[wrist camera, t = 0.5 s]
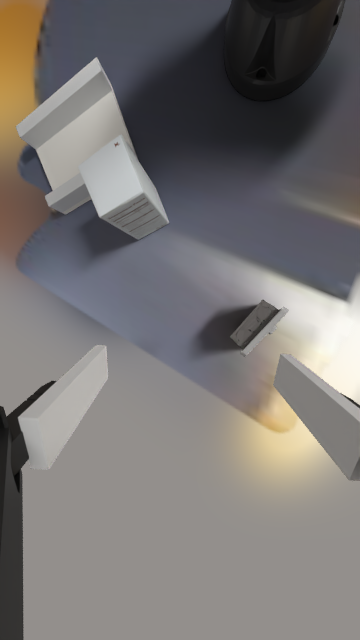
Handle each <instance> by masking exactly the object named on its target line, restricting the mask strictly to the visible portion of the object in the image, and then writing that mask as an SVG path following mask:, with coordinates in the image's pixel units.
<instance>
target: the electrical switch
mask: <svg viewBox="0 0 360 640" xmlns="http://www.w3.org/2000/svg"><path fill="white" fill-rule="evenodd" d="M257 309H258V310H257ZM288 311H289V310H287V309H286V308H285V307H283V308H282V309H279V310H278V309H276V308H275V307H274V306H272V305H271V304H269V303H267V302H265V301H264V300H262V301H261V302H260V303H259V304H258V305H257V307H256V308H255V309H254V310H253V311H252V312H251V313H250V315H249V316H248V317H247V318H246V319H245V320H244V321H243V322H242V324H241V325H240V326H239V327H238V328H237V329H236V330H235V332H234V333H233V334H232V335H231V336H230V338H231V339H232V340H234V341H235V342H236V344H237V345H239V346H240V347H241V348H242V349H243V350H242V352H241V353H240V354H241V355H243V356H244V357H245V356H246V355H247V354H249V353H250V352H251V350H252V349H253V348H254V347H255V346H256V345H257V344H258V343H259V342H260V341H261V340H262V339H263V338H264V337H265V336H266V335H267V334H268V333H269V334H272V333H273V332H274V331H275V330H276V328H277V326H275V325H276V324H277V323H278V322H279V321H280V320H281V319H282V318H283V317H284V316H285V315H286V313H287V312H288ZM236 333H237V334H236Z"/></svg>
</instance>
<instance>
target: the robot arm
mask: <svg viewBox="0 0 360 640" xmlns="http://www.w3.org/2000/svg"><path fill="white" fill-rule="evenodd" d="M344 3H345V0H232V2H231V5H230V9H229V12H228V16H227V21H226V27H225V41H224V61H225V68H226V72H227V75H228V77H229V80H230V82H231V83H232V85H233V86H234V87H235V89H236V90H237V91H238V92H239V93H241V94H242V95H244V96H245V97H248V98H250V99H253V100H260V101H265V100H273V99H276V98H280V97H282V96H284V95H286V94H288V93H290V92H292V91H293V90H295V89H296V88H298V87H299V86H300V85H301V84H303V83H304V82H305V81H306V80H307V79H308V78H309V77H310V76H311V75H312V73H313V72H314V71H315V70H316V68H317V67H318V66H319V64H320V62H321V61H322V59H323V57H324V56H325V54H326V52H327V49H328V47H329V45H330V43H331V41H332V39H333V36H334V34H335V32H336V30H337V27H338V24H339V21H340V19H341V15H342V12H343V8H344ZM106 351H107V350H106V346H103V345H96V346H94V347H93V348H92V349H91V350H90V351H89V352H88V353H87V354H86V355H85V356H84V357H83V358H81V359H80V360H79V361H78V362H77V363H76V364H75V365H74V366H73V367H72V368H71V369H70V370H68V371H67V372H66V373H65V374H64V375H63V376H62V377H61V378H60V379H59V380H58V381H51V382H49V383H47V384H45V385H44V386H42V387H41V388H39V389H38V390H37V391H36V392H35V393H34V394H33V395H31V396H30V397H29V398H28V399H27V401H24V402H23V403H22V404H21V405H20V406H19V407H17V408H16V409H15V410H14V411H13V412H12V413H10V414H9V415H8V416H7V417H6V414H5V411H4V408H3V407H1V406H0V640H23V528H22V527H23V523H22V521H23V519H22V518H23V517H22V516H23V514H22V471H21V468H22V466H23V465H24V464H25V462H26V461H27V460H28V459H29V462H30V467H31V469H48V470H49V469H50V467H51V466H52V464H53V463H54V461H55V460H56V458H57V457H58V455H59V453H60V452H61V450H62V449H63V447H64V446H65V444H66V443H67V441H68V440H69V438H70V436H71V435H72V433H73V432H74V430H75V429H76V427H77V426H78V424H79V422H80V421H81V419H82V418H83V416H84V415H85V413H86V412H87V410H88V408H89V407H90V405H91V404H92V402H93V401H94V399H95V398H96V396H97V394H98V393H99V392H100V390H101V388H102V387H103V385H104V384H105V382H106V381H107V379H108V365H107V352H106ZM273 385H274V387H275V388H276V389H277V390H278V392H279V393H280V394H281V395H282V397H283V398H284V399H285V400H286V402H287V403H288V404H289V405H290V407H291V408H292V409H293V411H294V412H295V413H296V414H297V416H298V417H299V418H300V419H301V421H302V422H303V423H304V424H305V426H306V427H307V428H308V429H309V431H310V432H311V433H312V434H313V436H314V437H315V438H316V439H317V441H318V442H319V443H320V445H321V446H322V447H323V448H324V450H325V451H326V452H327V453H328V455H329V456H330V457H331V458H332V460H333V461H334V462H335V463H336V465H337V466H338V467H339V468H340V470H341V471H342V472H343V473H344V475H345V476H346V477H347V479H348V480H354V481H355V480H356V481H360V405H358V404H357V403H356V402H354V401H353V400H352V399H350V398H348V397H346V396H345V395H343V394H341V393H339V392H338V391H337V390H335V389H334V388H333V387H331V386H330V385H329V384H327V383H326V382H325V381H324V380H323V379H321V378H320V377H319V376H317V375H316V374H315V373H314V372H312V371H311V370H310V369H309V368H307V367H306V366H305V365H303V364H302V363H301V362H300V361H298V360H297V359H296V358H295V357H293V356H292V355H291V354H280V359H279V363H278V367H277V371H276V376H275V380H274V384H273Z"/></svg>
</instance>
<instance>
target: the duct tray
mask: <svg viewBox="0 0 360 640" xmlns="http://www.w3.org/2000/svg"><path fill="white" fill-rule="evenodd" d="M16 129H17V131H18V134H19V136H20V138H21V139H23V140H24V141H25V142H27V143H28V144H29V145H30V146H32V147H33V148H34V149H36V151H37V153H38V156H39V158H40V161H41V163H42V166H43V168H44V170H45V173H46V175H47V178H48V180H49V183H50V185H51V187H52V190H53V191H52V192H50V193H49V194H47V195H46V196H45V198H46V201H47V203H48V206H49V207H51V208H53V209H55V210H57V211H59V212H61V213H63V214H65V215H66V214H68V213H69V212H71V211H73V210H74V209H76V208H78V207H79V206H81V205H83V204H84V203H86V202H87V201H89V200H91V197H90V194H89V192H88V190H87V187H86V185H85V183H84V180H83V178H82V175H81V173H80V171H79V168H78V166H79V165H80V164H81V163H82V162H84V161H85V160H87V159H88V158H89V157H91V156H92V155H93V154H95V153H96V152H97V151H99V150H100V149H101V148H103V147H104V146H105V145H107V144H108V143H109V142H111V141H112V140H113V139H115V138H116V137H118V136H119V135H122V136H123V138H124V139H125V141H126V142H127V144H128V145H129V147H130V149H131V150H132V152H133V153H134V155H135V156H136V158H137V155H136V152H135V150H134V147H133V144H132V141H131V138H130V136H129V133H128V130H127V127H126V124H125V122H124V119H123V116H122V113H121V111H120V108H119V105H118V102H117V99H116V97H115V94H114V91H113V88H112V85H111V83H110V81H109V79H108V78H107V76H106V74H105V72H104V70H103V68H102V66H101V64H100V62H99V60H98V59H97V57H96V58H95V59H94V60H93V61H91V62H90V63H89V64H88V65H87V66H86V67H84V68H83V69H82V70H81V71H80V72H79V73H77V74H76V75H75V76H74V77H73V78H72V79H70V80H69V81H68V82H67V83H66V84H65V85H63V86H62V87H61V88H60V89H59V90H58V91H57V92H55V93H54V94H53V95H52V96H51V97H50V98H48V99H47V100H46V101H45V102H44V103H43V104H41V105H40V106H39V107H38V108H37V109H36V110H34V111H33V112H32V113H31V114H30V115H29V116H27V117H26V118H25V119H24V120H23V121H22V122H20V123H19V124H18V125H17V126H16ZM137 160H138V158H137Z"/></svg>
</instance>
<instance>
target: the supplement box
mask: <svg viewBox="0 0 360 640" xmlns="http://www.w3.org/2000/svg"><path fill="white" fill-rule="evenodd" d="M78 168H79V171H80V173H81V175H82V178H83V180H84V183H85V185H86V187H87V190H88V192H89V194H90V197H91V199H92V201H93V204H94V206H95V208H96V211H97V213H98V215H99V217H100V218H101V219H103V220H105V221H106V222H108V223H110V224H112V225H113V226H115V227H117V228H118V229H120V230H122V231H124V232H125V233H127V234H129V235H131V236H132V237H134V238H136V239H138V240H139V239H141V238H143V237H145V236H147V235H149V234H150V233H152V232H154V231H156V230H158V229H160V228H162V227H163V226H165V225H167V224H169V221H168V218H167V215H166V213H165V210H164V208H163V205H162V203H161V200H160V198H159V195H158V193H157V190H156V187H155V186H154V185H153V183H152V181H151V180H150V178H149V177H148V175H147V174H146V172H145V170H144V169H143V167H142V166H141V164H140V163H139V161H138V160H137V158H136V156H135V155H134V153H133V152H132V150H131V149H130V147H129V145H128V144H127V142H126V141H125V139H124V138H123V136H122V135H119V136H118V137H116V138H115V139H113V140H112V141H111V142H109V143H108V144H107V145H105V146H104V147H103V148H101V149H100V150H99V151H97V152H96V153H95V154H93V155H92V156H91V157H89V158H88V159H87V160H85V161H84V162H82V163H81V164H80V165H79V166H78Z"/></svg>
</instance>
